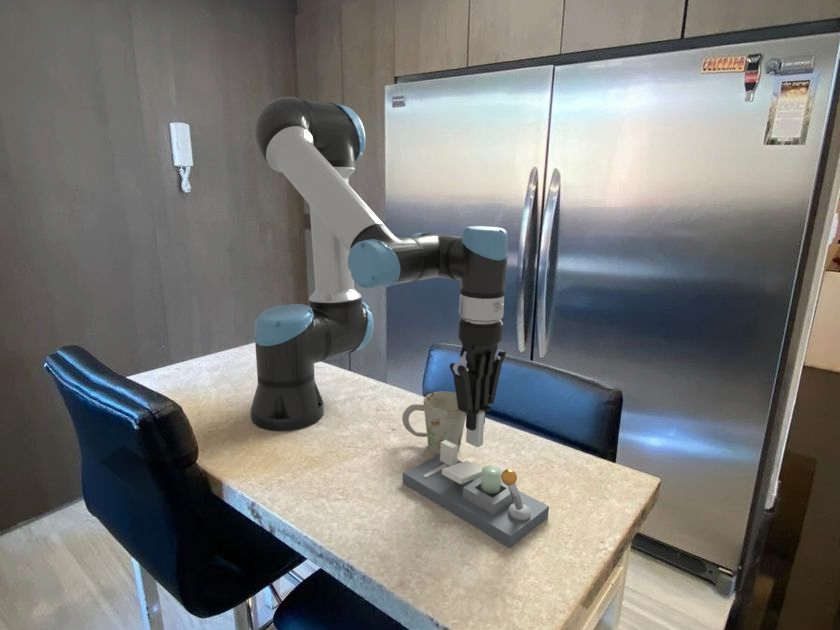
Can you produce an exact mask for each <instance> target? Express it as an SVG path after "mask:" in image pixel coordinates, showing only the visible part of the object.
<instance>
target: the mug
mask: <svg viewBox="0 0 840 630" xmlns="http://www.w3.org/2000/svg"><path fill="white" fill-rule="evenodd" d="M414 411H419V412H424V419H425V428H426V429H425V430H426V432H423V431H417V430H415V429H414V428H413V427H412V425H411V424H410V421H409V419H410V416H411V414H412V413H413V412H414ZM401 421H402V425H403V426H404V428H405V429H406V430H407V431H408V432H409V433H410V434H411V435H413V436H415V437H420V438H421V437H423V438H426V439H427V448H428V450H429V451H430V452H431V453H432V454H435V455H438V454H440V447H441V442H442V441H444V440H447V441H449V442H451V443H453V444H455V445H457V453H459V451H460V448H461V444H462V439H463V433H464V427H465V425H466V413H465V412H463V411H460V410H459V409H458V405H457V398H456V392H454V391H447V390H446V391H434V392H431V393H428V394H427V395H425V396H424V398H423V404H421V403H420V404H419V403H412V404H410V405H409V406H407V407H406V408H405V409H404V411H403V413H402V420H401Z"/></svg>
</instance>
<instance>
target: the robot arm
mask: <svg viewBox="0 0 840 630" xmlns="http://www.w3.org/2000/svg"><path fill="white" fill-rule="evenodd" d="M363 124H364V123H363V121H362V120H361V118H360V117H359V115H358V114H357V113H356V112H355V111H354V110H353V109H352V108H350V107H348V106H346V105H342V104H339V103H335V102H332V101H331V102H328V101H321V100H314V99H312V100H311V99H305V98H298V97H294V96H281V97H278V98H275V99H273V100H271V101H269V102H268V103H267V104H265V105H264V106H263V107H262V109H261V110H260V111H259V112H258V115H257V117H256V120H255V124H254V131H253V132H254V133H253V134H254V141H255V145H256V147H257V149H258V151H259V153H260V155H261V157H262V158H263V159H264V160H265V162H266V163H267V165H269V167H270V168H271V169H272V170H273V171H275V172H278V173H282V174H283V175H284V176H285V177H286V179H287V180H288V181H289V183H290V184H292V185H293V187H294V188H295V189H296V191H297V192H298V193H299V194H300V196H301V197H302V198H303V199H304V200H305V201H306V202H307V204H308V205H309V214H310V215H309V216H310V228H311V229H310V230H311V245H312V246H311V247H312V258H313V259H312V260H313V274H314V275H313V276H314V292H313V293H312V294H311V295H310V296H309V298H308V303H309V305H306V304H303V303H290V304H282V305H281V304H280V305H275V306H273V307H270V308H267V309H266V310H264V311H262V312H260V313H259V314H258V316H257V318H256V319H255V322H254V334H253V338H254V342H255V359H256V374H257V386H256V389H255V393H254V396H253V400H252V402H251V403H252V404H251V407H250V419H251V422H252V423H253V425H255V427H258V428H260V429H263V430H268V431H271V432H272V431H275V432H287V431H295V430H301V429H305V428H308V427H310V426H313V425H314V424H316V423H318V422H319V421H320V420H321V419H322V418H323V416H324V413H325V412H324V407H325V406H324V401H323V398H322V396H321V393H320V391H319V387H318V385H317V383H316V379H315V364H316V363H320V362H323V361H327V360H330V359H333V358H337V357H340V356H346V355H350V354H354V352H356V351H360V350H361V349H364V347H366V346H367V344H369V342H370V341H371V339H372V337H373V333H374V328H375V327H374V322H375V321H374V316H373V312H372V311H370V307H369V305H368V304H367V303H366V302H364V301H362V300H363V299H362V294H361V293H359V291H357V290H356V288H355V284H357V285H358V286H359V287H361V288H364V289H379V288H390V287H391V286H394V285H400V284H404V283H412V282H417V281H423V280H428V279H434V278H442V279H450V280H452V281H453V280H454V281H459V282H460V286H459V287H460V288H459V289H460V293H459V307H458V308H459V309H458V315H459V317H460V318H459V320H458V332H457V333H458V334H457V335H458V339H459V341H460V343H461V345H462V347H461V350H460V353H459V356H460V358H459V359H458V361H457V362H451V363H450V364H449V369H450V372H451V373H452V375H453V383H454V390H455V393H456V398H457V405H458V409H459V410H460V411H463V412H465V413H466V418H465V428H466V434H465V435H466V437H465V443H467V444H469V445H471V446H473V447H475V448H480V447H481V446H483V445H484V428H485V424H486V412H488V413H489V412H491V410H492V407H491V406H489V405H493V404H494V403H495V401H496V400H495V398H496V394H497V390H498V389H497V388H498V384H499V380H500V374H501V371H502V366H503V362H504V359H505V358H506V355H507V353H506V351H504V350H502V349H501V350H500V349H499V348H498V344H500V343H501V342H502V340H503V329H504V323H503V321H502V319H503V318H504V309H505V295H506V294H505V293H506V291H505V289H506V278H507V275H506V274H507V266H508V258H509V252H508V248H509V244H508V243H509V241H508V240H509V238H508V237H509V236H508V232H507V231H506V230H505V229H504V228H502V227H497V226H485V225H482V226H481V225H475V226H474V225H472V226H466V227H464V229H463V230H462V236H455V235H448V234H440V233H436V232H430V231H429V232H416V233H414V234H413V235H411V236H404V237H397V236H396V235H394V233H393V232H392V230H390V229H389V228H388V227H387V226H386V225H385V223H384V222H382V220H381V219H380V218H379V217H378V216H377V215H376V213H374V211H373V210H372V209H371V208H370V206H368V205H367V203H366V202H365V201H364V200H363V199H362V197H360V196H359V194H358V193H357V192H356V191H355V190H354V189H353V188H352V186H351V185H350V181H349V179H350V176H351V175H352V174H353V173H354V172H355V171H356V162H357V161H358V160H360V158H361V157H362V156H363V151H365V148H366V131H365V127H364V125H363Z"/></svg>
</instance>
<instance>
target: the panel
mask: <svg viewBox="0 0 840 630" xmlns="http://www.w3.org/2000/svg"><path fill="white" fill-rule="evenodd" d="M462 462H463V461H461V460H459V459H458V458H457V464H459V463H462ZM446 467H449V465H447V464H445V463H443V462H441V461H440V454H438V455H437V454H435V455H434V456H432V457H430V458H429V459H427V460H425V461H423V462H421V463H419V464H416V465H415V466H413V467H411V468H409V469H407V470H406V471H404V472H402V484H403V485H405V486H407V487H409V488H410V489H412V490H413V491H415V492H416V493H418V494H419V495H421V496H423V497H425V498H426V499H428V500H430V501H432V502H433V503H435V504H436V505H438V506H440V507H441V508H443V509H444V510H446V511H448V512H450V513H452V515H455V516H456V517H458V518H459V519H461V520H462V521H464V522H465V523H468V524H469V525H471V526H472V527H474V528H476V529H477V530H479V531H481V532H482V533H484V534H486V535H487V536H489V537H490V538H492V539H494V540H496V541H497V542H499V543H500V544H502V545H504V546H505V547H507V548H509V549H511V548H512V547H513V546H515V545H516V544H517V543H519V542H520V541H521V540H522V539H524V538H525V537H526V536H527V535H528V534H529V533H531V532H532V531H533V530H535V529H536V528H537V527H538V526H539V525H541V524H542V523H543V522H544V521H546V520H547V519H548V518H549V511H550V506H549V505H548V504H546V503H544V502H542V501H540V500H538V499H536V498H534V497H532V496H530V495H528V494H526V493H525V492H522V491H520V490H519V488H518V487H517V489H518V492H519V495H520V498H521V500H522V503H523V508H522V509H521V510H517V509H516V508H515V505H514V502H513V500H512V497H511V494H510V491H509V488H508V486H507V485H506V484H504V483H503V481H502V479H501V487H500V491H499V492H498V493H494V494H490V493H486V492H484V491H483V490H482V489H481V477H482V476H481V477H479V478H477V479H474V480H471V481H468V482H465V483H463V484H459V483H457V482H455V481H454V480H452V479H450V478H448V477H446V476H445V475H443V474H442V469H443V468H446Z"/></svg>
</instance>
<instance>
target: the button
mask: <svg viewBox="0 0 840 630" xmlns="http://www.w3.org/2000/svg"><path fill="white" fill-rule="evenodd" d="M481 468H482V477H481V489H482V490H483V491H484V492H486V493H490V494H494V493H498V492H499V491H500V487H501V480H502V479H501V474H502V472H503V471H502V469H501V468H500V467H499V466H495V465H485V466H484V467H481Z"/></svg>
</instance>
